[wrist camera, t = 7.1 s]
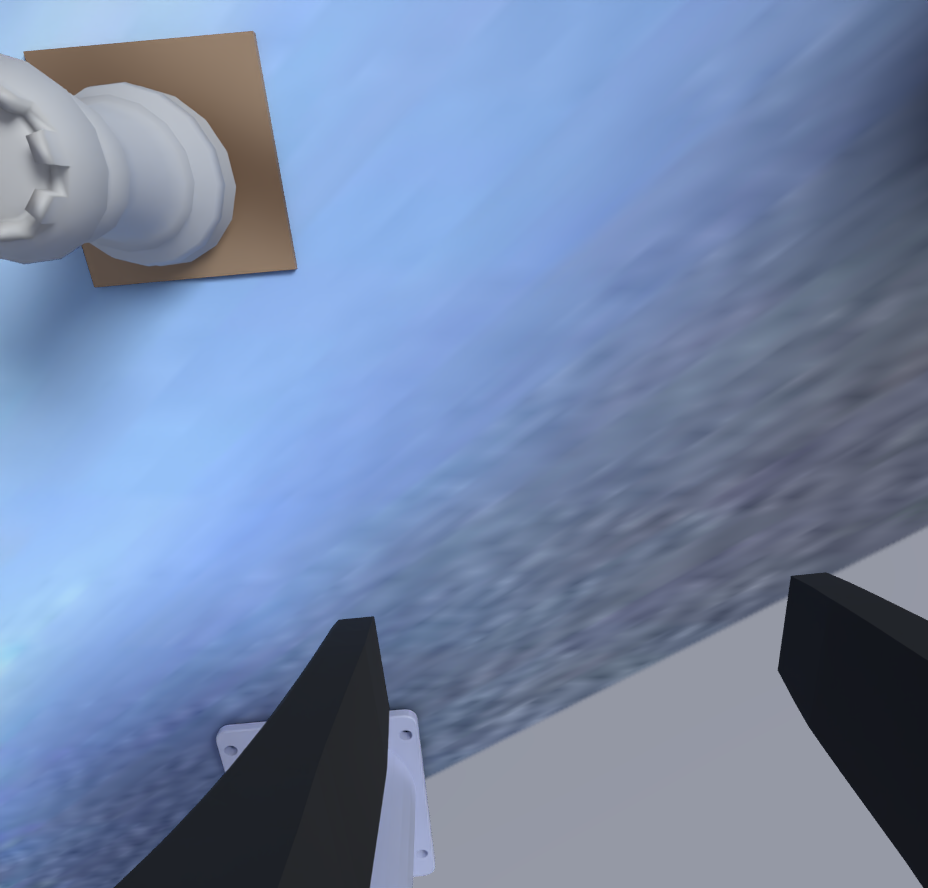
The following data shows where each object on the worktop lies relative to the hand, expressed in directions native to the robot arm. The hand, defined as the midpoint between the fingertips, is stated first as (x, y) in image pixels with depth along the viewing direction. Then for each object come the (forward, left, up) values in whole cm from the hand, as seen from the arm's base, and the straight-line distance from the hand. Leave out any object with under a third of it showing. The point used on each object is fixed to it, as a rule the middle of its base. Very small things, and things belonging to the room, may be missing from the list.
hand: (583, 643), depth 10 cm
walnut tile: (+9, +9, -11) cm, 17 cm away
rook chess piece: (+8, +10, -10) cm, 16 cm away
